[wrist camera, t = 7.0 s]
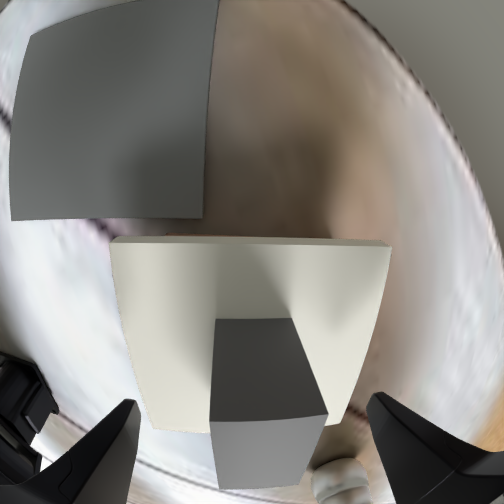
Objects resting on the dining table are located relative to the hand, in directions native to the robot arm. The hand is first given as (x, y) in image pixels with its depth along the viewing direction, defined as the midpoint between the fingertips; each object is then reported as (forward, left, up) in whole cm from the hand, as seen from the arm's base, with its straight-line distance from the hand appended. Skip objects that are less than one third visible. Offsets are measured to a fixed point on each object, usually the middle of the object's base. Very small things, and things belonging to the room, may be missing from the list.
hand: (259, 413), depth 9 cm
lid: (0, 0, -4) cm, 4 cm away
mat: (-9, +12, -8) cm, 17 cm away
